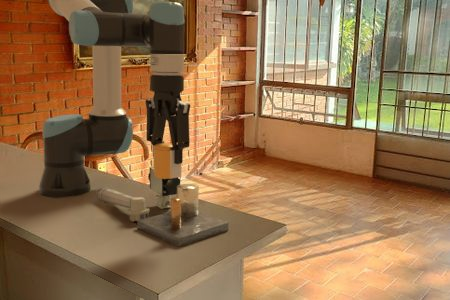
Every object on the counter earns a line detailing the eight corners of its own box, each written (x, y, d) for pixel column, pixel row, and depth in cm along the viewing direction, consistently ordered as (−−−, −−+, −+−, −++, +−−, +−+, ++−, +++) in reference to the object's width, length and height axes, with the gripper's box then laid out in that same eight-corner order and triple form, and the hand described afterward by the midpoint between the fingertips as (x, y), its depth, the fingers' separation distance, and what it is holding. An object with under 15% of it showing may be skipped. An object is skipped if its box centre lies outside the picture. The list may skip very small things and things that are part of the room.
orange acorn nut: (150, 175, 115) (149, 144, 113) (169, 171, 118) (169, 142, 117) (164, 179, 111) (164, 148, 109) (183, 176, 115) (184, 145, 113)
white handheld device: (110, 185, 147) (152, 194, 127) (112, 207, 147) (154, 219, 128) (93, 188, 143) (134, 197, 124) (95, 210, 144) (136, 223, 124)
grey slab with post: (137, 228, 123) (137, 192, 121) (186, 214, 134) (186, 181, 132) (179, 246, 112) (179, 207, 110) (228, 229, 123) (229, 194, 121)
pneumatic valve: (165, 214, 134) (165, 171, 131) (147, 202, 143) (147, 162, 141) (183, 211, 137) (183, 169, 134) (164, 200, 146) (165, 160, 144)
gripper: (129, 72, 114) (131, 169, 119) (180, 76, 101) (179, 185, 105) (155, 72, 119) (156, 165, 124) (207, 75, 106) (206, 179, 111)
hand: (167, 174), depth 115 cm, fingers closed on orange acorn nut, 6 cm apart
